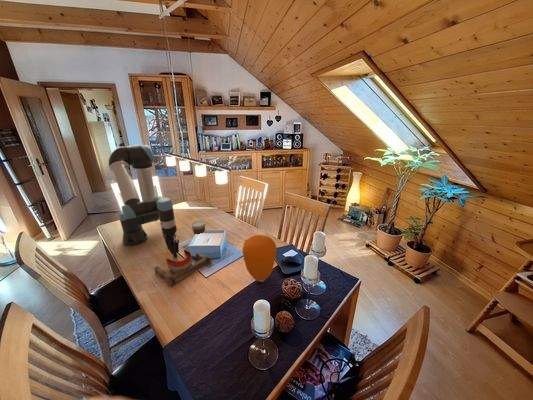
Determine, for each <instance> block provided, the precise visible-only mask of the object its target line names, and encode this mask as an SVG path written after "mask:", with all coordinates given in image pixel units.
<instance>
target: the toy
mask: <svg viewBox="0 0 533 400" xmlns="http://www.w3.org/2000/svg"><path fill="white" fill-rule="evenodd" d="M183 253H184V255H185V256H184V259H183V260H181V261H179V260H178V261H177V262H175V261H172V259H170V258H166V260H165V261H166V264H167V268H168V269H169V272H170V273H172V274H175V275H176V274H178V273H180V272H181V271H183V270H185V269H186V268H188V267H190V266H191V265H193V256H191V254H190V252H189V250H187V249H183Z"/></svg>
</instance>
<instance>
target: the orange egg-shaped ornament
mask: <svg viewBox="0 0 533 400" xmlns="http://www.w3.org/2000/svg"><path fill="white" fill-rule="evenodd" d="M277 248H278V247H277V244H276V242H275V240H273V239H272V237H270V236H268V235H264V234H263V235H261V234H255V235H252V236H250V237H248V238H246V239H245V240H244V242H243V246H242V257H243V260H244V264H245V266H246V267H245V268H246V270H247V272H248V273H249V275H250V276H251V277H252V278H253V280H255V281H257V282H261V283H262V282H265V281H266V280H267V279H268V278H269V277H270V275H271V274H272V271H273V269H274V265H275V261H276V255H277Z"/></svg>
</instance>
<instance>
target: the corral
mask: <svg viewBox="0 0 533 400" xmlns="http://www.w3.org/2000/svg"><path fill="white" fill-rule="evenodd" d="M195 259H196V260H198V261H196V262H195V263H192V264H191V266H190V267H188V268H186V269H185V270H183V271H181V272H180V273H178V274H175V275H173V276H172V275H171V274H169V273H168V272H167V271H165V270H164V269H163V268H162V267H160V266H159V265H156V266H155V267H153V270H154V274H156V275H157V276H158V277H159V278H161V279H162V280H163V281H164V282H166V283H167V285H168V286H167V287H169V288H173V287H174V286H176V285H177V284H180V282H182V281H184V280H186V279H187V278H188V277H190V276H192V275H193V274H194V273H197V272H198V271H200V270H201V269H203V268H204V267H206V266H207V265H208V264H210V263H212V261H211V260H212V259H211V256H209V255H205V254H204V253H202V254H198V253H196V258H195ZM199 269H200V270H199Z"/></svg>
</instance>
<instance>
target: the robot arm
mask: <svg viewBox="0 0 533 400" xmlns="http://www.w3.org/2000/svg"><path fill="white" fill-rule="evenodd" d="M155 161H156V160H155V156H154V154H153V150H152V149H151V147H150V146H149V145H147V144H137V145H128V146H119V147H116V148H115V149H114V150H113V151H112V152H111V154H109V158H108V166H109V169H110V171H111V172H112V173H113V175H114V178H115V181H116V184H117V187H118V190H119V192H120V194H121V197H122V200H123V203H124V205H122V206H121V209H122V210H120V212H119V213H118V218H119V222H120V225H121V229H122V240H121V241H122V243H123V245H124V246H127V247H128V246H137V245H140V244H142V243H143V242H145V241H146V240H147V239H148V234H147V232H146V231H145V229H144V228H143V225H145V224H149V223H153V222H157V221H159V222H160V223H159V225H160V227H161V233H162V236H163V238H164V241H165V244H166V248H167V250H168V251H169V252H170V255H171V260H172V261H175V262H179V258H178V253H179V252H180V249H179V248H180V247H179V246H180V245H179V243H180V239H179V238H177V235H176V233H177V231H178V229H177V225H176V224H177V223H176V218H175V211H174V207H173V204H174V203H173V202H172V199H171V198H168V197H162V196H160V195H156V192H155V185H154V180H153V176H152V170H151V168H152V167H153V164H154V163H156V162H155ZM130 166H131V168H132V169H133V170H135V172H136V177H137V183H138V186H139V191H140V196H139V193H138V192H137V189H136V185H135V183H134V181H133V178H132V176H131V173H130V170H129V167H130ZM140 197H141V199H140Z"/></svg>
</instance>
